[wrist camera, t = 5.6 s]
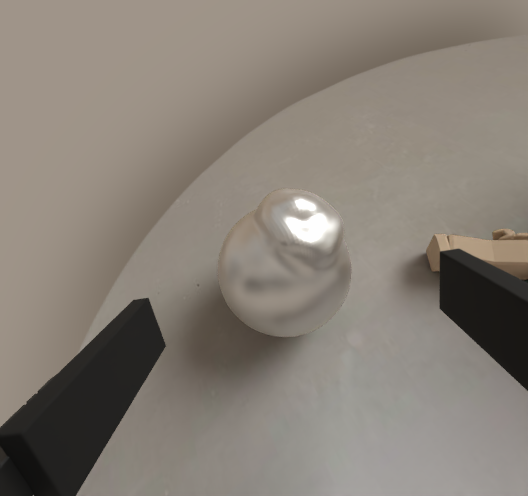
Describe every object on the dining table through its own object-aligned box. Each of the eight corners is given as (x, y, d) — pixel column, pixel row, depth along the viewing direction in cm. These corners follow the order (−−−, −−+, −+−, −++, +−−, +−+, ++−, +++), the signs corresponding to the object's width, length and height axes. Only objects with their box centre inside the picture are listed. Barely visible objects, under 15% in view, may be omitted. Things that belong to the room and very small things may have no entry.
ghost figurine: (375, 308, 20) (420, 252, 12) (263, 366, 20) (220, 353, 11) (315, 220, 25) (315, 130, 16) (222, 266, 24) (167, 200, 15)
